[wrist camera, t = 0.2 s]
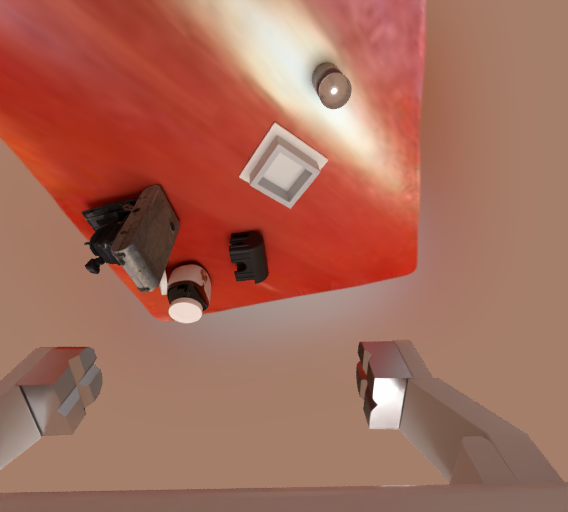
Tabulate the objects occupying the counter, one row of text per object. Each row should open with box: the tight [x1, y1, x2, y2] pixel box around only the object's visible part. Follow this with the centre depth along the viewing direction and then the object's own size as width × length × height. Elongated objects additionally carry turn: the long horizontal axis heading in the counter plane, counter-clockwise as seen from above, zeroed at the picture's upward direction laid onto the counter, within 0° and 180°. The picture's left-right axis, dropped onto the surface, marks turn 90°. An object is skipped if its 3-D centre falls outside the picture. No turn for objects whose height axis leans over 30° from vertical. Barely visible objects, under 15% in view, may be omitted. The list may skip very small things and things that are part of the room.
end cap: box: [229, 232, 269, 284], centre depth 70 cm, size 10×7×7 cm
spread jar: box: [159, 264, 211, 323], centre depth 72 cm, size 12×11×12 cm
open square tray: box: [239, 122, 328, 209], centre depth 59 cm, size 12×12×5 cm
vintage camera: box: [81, 185, 180, 292], centre depth 57 cm, size 10×15×20 cm, turn 102°
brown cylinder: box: [312, 62, 351, 109], centre depth 48 cm, size 4×4×8 cm
